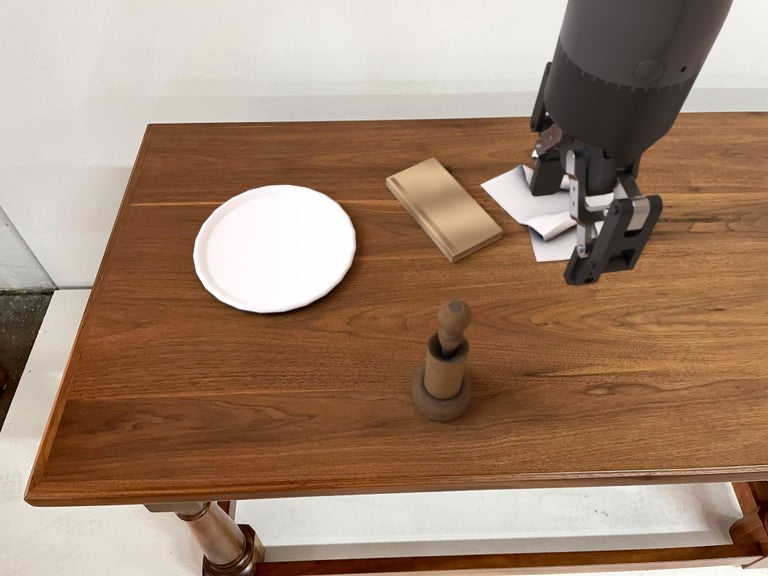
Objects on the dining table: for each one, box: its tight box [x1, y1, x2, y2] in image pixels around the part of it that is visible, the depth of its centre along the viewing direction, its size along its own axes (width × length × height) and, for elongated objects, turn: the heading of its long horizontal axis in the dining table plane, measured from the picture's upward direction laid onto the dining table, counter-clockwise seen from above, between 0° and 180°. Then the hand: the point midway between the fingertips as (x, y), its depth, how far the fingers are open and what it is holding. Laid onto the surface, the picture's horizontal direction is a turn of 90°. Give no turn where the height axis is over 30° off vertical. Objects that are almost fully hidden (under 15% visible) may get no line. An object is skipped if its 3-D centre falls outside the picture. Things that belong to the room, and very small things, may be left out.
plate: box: [193, 184, 357, 314], centre depth 78 cm, size 21×21×1 cm
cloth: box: [479, 149, 614, 263], centre depth 81 cm, size 20×22×2 cm
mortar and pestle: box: [410, 298, 473, 423], centre depth 59 cm, size 7×6×18 cm
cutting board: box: [385, 156, 504, 264], centre depth 81 cm, size 16×8×2 cm, turn 32°
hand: (559, 233), depth 45 cm, fingers open, 8 cm apart
